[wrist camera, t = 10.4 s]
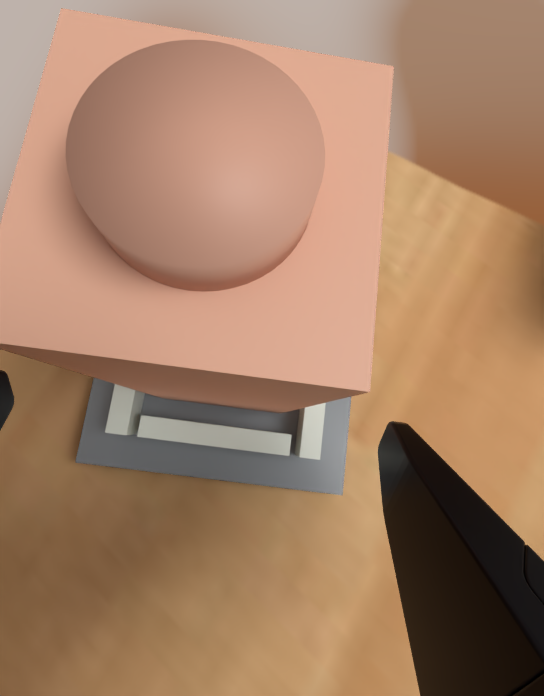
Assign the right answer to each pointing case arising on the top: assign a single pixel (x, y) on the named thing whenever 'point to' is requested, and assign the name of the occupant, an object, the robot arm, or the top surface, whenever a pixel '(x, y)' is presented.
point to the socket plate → (216, 440)
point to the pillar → (198, 216)
